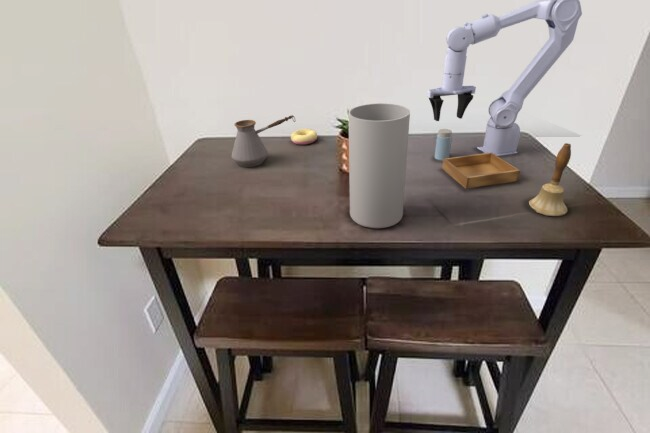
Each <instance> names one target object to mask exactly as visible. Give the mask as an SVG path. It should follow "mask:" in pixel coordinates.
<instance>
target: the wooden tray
mask: <svg viewBox="0 0 650 433" xmlns="http://www.w3.org/2000/svg"><path fill="white" fill-rule="evenodd" d="M442 170H443V171H444V172H446V174H448V175H449V176H450V177H451V178H453V179H454V180H455V181H456V182H457V183H459V185H461V186H462V187H463V188H464V189H472V188H478V187H486V186H493V185H498V184H506V183H512V182H518V181H519V178H520V173H521V169H520V168H518V167H516V166H514V165H512V164H511V163H510V162H508V161H506V160H505V159H503V158H501V157H500V156H497V155H495V154H493V153H492V152H491V153H484V152H483V153H475V154H469V155H461V156H454V157H449V158H446V159H443V160H442Z"/></svg>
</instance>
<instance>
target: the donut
mask: <svg viewBox="0 0 650 433" xmlns="http://www.w3.org/2000/svg"><path fill="white" fill-rule="evenodd" d="M317 139H318V133H317V131H315V130H314V129H311V128H300V129H297V130H294V131H293V132H292V133H291V135H290V140H291V142H292V143H293V144H295V145H299V146H300V145H302V146H303V145H310V144H313V143H314V142H315V141H317Z"/></svg>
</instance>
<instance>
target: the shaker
mask: <svg viewBox="0 0 650 433" xmlns="http://www.w3.org/2000/svg"><path fill="white" fill-rule="evenodd" d="M452 133H453V132H452V130H451V129H449V128H441V129H438V130H437V134H436V138H435V139H436V141H435V149H434V159H436V160H438V161H443V159H446V158H451V156H450V155H451V148H452V141H453V135H452Z"/></svg>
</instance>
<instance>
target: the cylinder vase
mask: <svg viewBox="0 0 650 433" xmlns="http://www.w3.org/2000/svg"><path fill="white" fill-rule="evenodd" d="M347 115H348V117H347V118H348V173H349V174H348V175H349V176H348V177H349V178H348V179H349V180H348V182H349V216H350V218H351V219H352V221H353V222H354V223H356V224H357V225H359V226H361V227H365V228H370V229H386V228H390V227H392V226H395V225H397V224H398V223H399V222H400V221H401V220H402V218H403V216H404V205H405V192H406V191H405V189H406V176H407V162H408V149H409V148H408V147H409V134H410V133H409V132H410V116H411V111H410V109H409V108H408V107H406V106H403V105H399V104H394V103H367V104H361V105H357V106H354V107H351V108H350V109H349V111H348V114H347Z"/></svg>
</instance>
